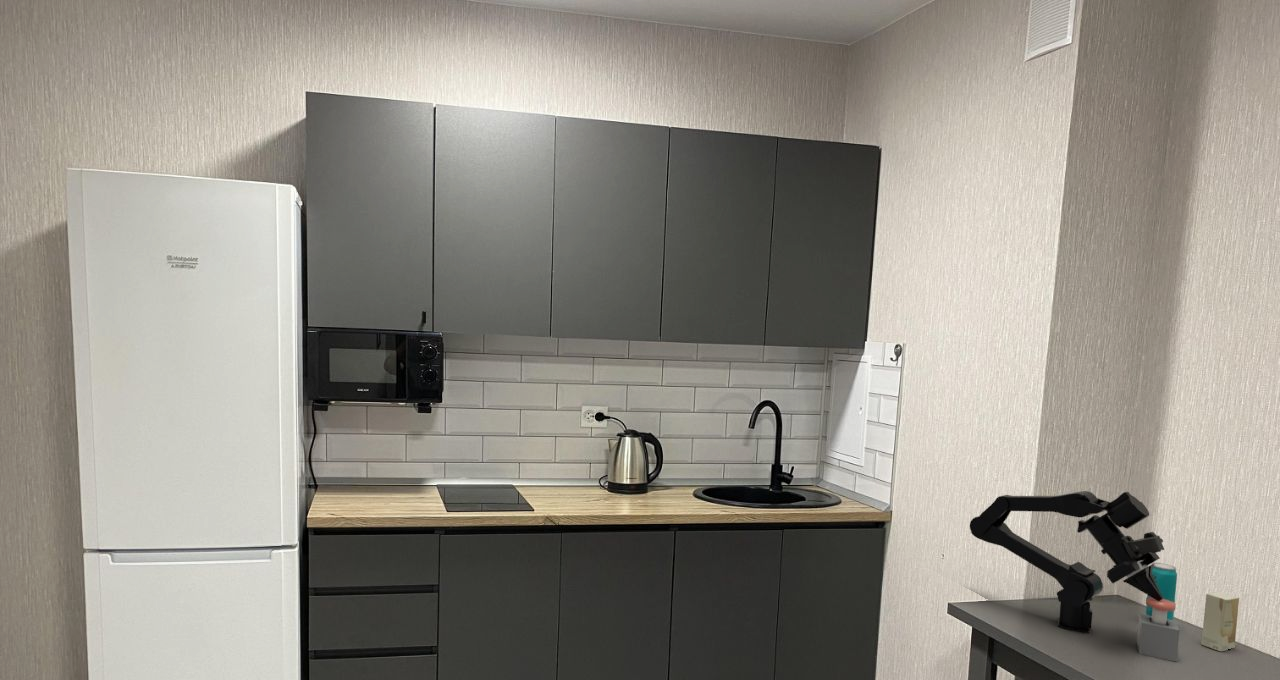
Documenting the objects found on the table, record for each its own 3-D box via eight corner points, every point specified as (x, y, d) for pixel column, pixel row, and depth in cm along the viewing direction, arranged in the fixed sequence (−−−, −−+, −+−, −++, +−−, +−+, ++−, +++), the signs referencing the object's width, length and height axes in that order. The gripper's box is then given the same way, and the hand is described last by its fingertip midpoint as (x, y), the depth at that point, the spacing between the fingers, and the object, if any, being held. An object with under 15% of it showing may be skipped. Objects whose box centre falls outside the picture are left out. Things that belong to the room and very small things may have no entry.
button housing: (1139, 653, 179) (1142, 622, 179) (1136, 643, 185) (1139, 613, 185) (1176, 661, 176) (1179, 630, 176) (1172, 651, 182) (1175, 620, 182)
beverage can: (1164, 622, 202) (1169, 563, 201) (1177, 630, 196) (1182, 570, 196) (1140, 619, 202) (1145, 561, 202) (1152, 628, 196) (1158, 567, 196)
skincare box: (1220, 652, 183) (1225, 599, 183) (1200, 645, 187) (1204, 593, 187) (1235, 648, 186) (1240, 597, 186) (1215, 641, 190) (1219, 590, 190)
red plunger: (1144, 634, 179) (1147, 601, 179) (1142, 627, 184) (1144, 595, 184) (1174, 641, 177) (1177, 607, 177) (1171, 633, 182) (1173, 600, 182)
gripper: (1127, 525, 178) (1181, 589, 170) (1153, 516, 190) (1204, 575, 182) (1086, 551, 184) (1135, 614, 176) (1113, 540, 196) (1161, 598, 188)
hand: (1160, 599), depth 180 cm, fingers closed, pressing on red plunger
